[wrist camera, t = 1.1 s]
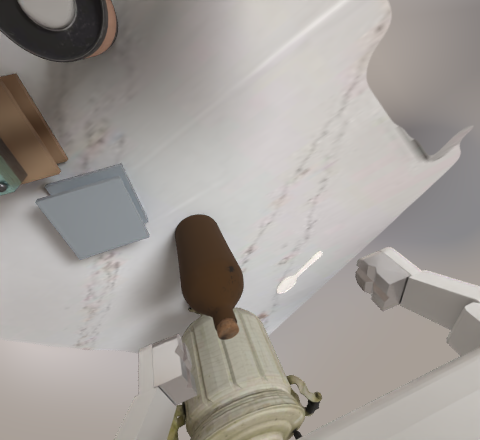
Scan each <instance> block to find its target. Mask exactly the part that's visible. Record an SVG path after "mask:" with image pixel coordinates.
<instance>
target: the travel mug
mask: <svg viewBox="0 0 480 440" xmlns="http://www.w3.org/2000/svg"><path fill="white" fill-rule="evenodd" d="M0 31H1V32H2V33H3V34H5V35H6V36H7V37H8V38H9V39H10V40H12V41H13V42H14V43H15V44H17V45H18V46H20V47H21V48H23V49H24V50H26V51H28V52H30V53H32V54H34V55H36V56H38V57H41V58H43V59H47V60H50V61H56V62H73V61H77V60H81V59H85V58H89V57H93V56H97V55H99V54H101V53H103V52H104V51H106V50H107V49H108V48H109V47H110V46H111V45H112V44H113V43H114V41H115V39H116V36H117V32H118V22H117V17H116V13H115V10H114V7H113V5H112V2H111V0H0Z"/></svg>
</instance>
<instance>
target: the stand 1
mask: <svg viewBox="0 0 480 440" xmlns="http://www.w3.org/2000/svg"><path fill="white" fill-rule="evenodd" d="M0 138H1V139H2V140H3V142H4V143H5V144H6V146H7V147H8V148H9V150H10V151H11V152H12V154H13V155H14V157H15V158H16V159H17V161H18V162H19V163H20V165H21V166H22V167H23V169H24V170H25V171H26V173H27V174H28V176H27V177H26V178H25V179H24V181H23V182H22V183H21V184H25V183H29V182H32V181H36V180H39V179H43V178H47V177H50V176H54V175H57V174H60V172H61V170H60V169H59V167H58V166H57V164H58V163H61V162H65V161H67V160H68V158H67V156H66V154H65V153H64V151H63V149H62V148H61V146H60V144H59V143H58V141H57V139H56V138H55V136H54V135H53V133H52V131H51V130H50V128H49V126H48V125H47V123H46V121H45V120H44V118H43V117H42V115H41V113H40V112H39V110H38V108H37V107H36V105H35V103H34V102H33V100H32V98H31V97H30V95H29V94H28V92H27V90H26V89H25V87H24V85H23V84H22V82H21V80H20V79H19V77H18V76H17V74H11V75H7V76H2V77H0ZM21 184H20V185H21Z"/></svg>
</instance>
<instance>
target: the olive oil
mask: <svg viewBox="0 0 480 440" xmlns="http://www.w3.org/2000/svg"><path fill="white" fill-rule="evenodd" d="M175 239H176V246H177V253H178V261H179V269H180V279H181V288H182V293H183V296H184V298H185V300H186V301H187V303H188V304H189V306H190V307H191V308H192V309H193V310H195V311H196V312H198V313H201V314H204V315H207V316H210V317H212V318H213V322H214V326H215V330H216V331H217V334H218V337H219V339H221V340H227V339H231V338H233V337H234V336H236V335H237V334H238V332H239V327H238V324H237V319H236V316H235V314H234V312H233V309H234V307H235V305H236V304H237V302H238V301H239V299H240V297H241V295H242V292H243V286H244V283H243V274H242V271H241V269H240V267H239V265H238V263H237V261H236V260H235V258H234V256H233V254H232V252H231V250H230V249H229V247H228V245H227V243H226V241H225V239H224V237H223V235H222V233H221V231H220V229H219V227H218V225H217V223H216V222H215V221H214V220H213V219H212V218H211V217H209V216H206V215H192V216H189V217H187V218H185V219H184V220H183V221H181V222H180V224H179V225H178V226H177V228H176V231H175Z"/></svg>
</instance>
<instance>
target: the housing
mask: <svg viewBox="0 0 480 440" xmlns="http://www.w3.org/2000/svg"><path fill="white" fill-rule="evenodd" d="M27 176H28V174H27V173H26V171H25V170H24V169H23V167H22V166H21V165H20V163H19V162H18V161H17V159H16V158H15V157H14V155H13V154H12V152H11V151H10V150H9V148H8V147H7V146H6V144H5V143H4V142H3V140H2V139H1V138H0V196H1V195H4V194H8V193H11V192H15V190H16V189H17V188H18V187H19V185H20V184H21V183H22V182H23V181H24V179H25V178H26V177H27Z"/></svg>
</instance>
